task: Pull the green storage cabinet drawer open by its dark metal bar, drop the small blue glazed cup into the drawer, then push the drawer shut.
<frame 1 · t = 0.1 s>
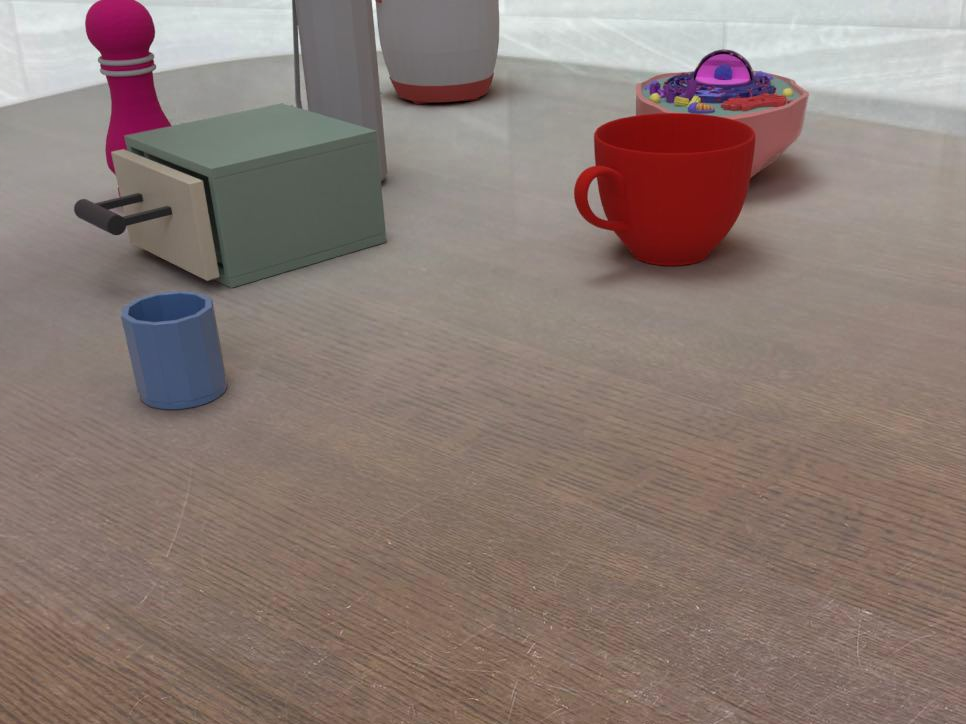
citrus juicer: (436, 97, 153), on the table
cup: (183, 390, 81), on the table
pepper mill: (154, 203, 118), on the table
cell model: (715, 177, 121), on the table
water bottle: (345, 183, 122), on the table
green storage cabinet: (266, 244, 106), on the table
drawer: (206, 203, 101), point 5 cm above the table, slide at 0.5 cm
ceramic cup: (653, 260, 101), on the table
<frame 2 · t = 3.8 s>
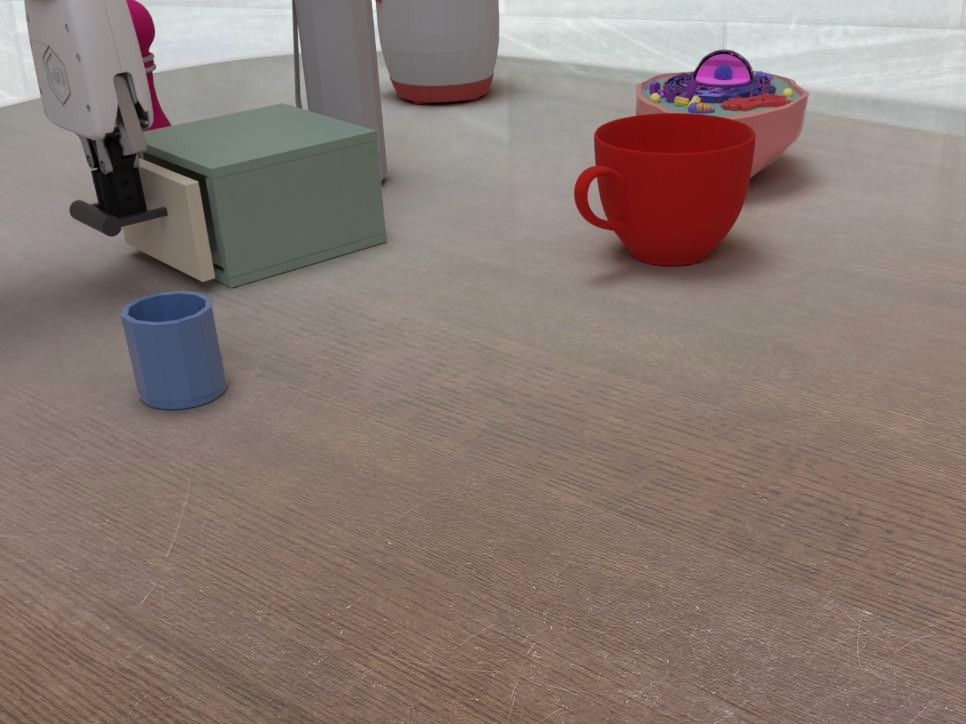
hand: (125, 217, 96), 5 cm above the table, tool pointing down, fingers closed
drawer: (202, 204, 101), point 5 cm above the table, slide at 0.9 cm
everything else where it was.
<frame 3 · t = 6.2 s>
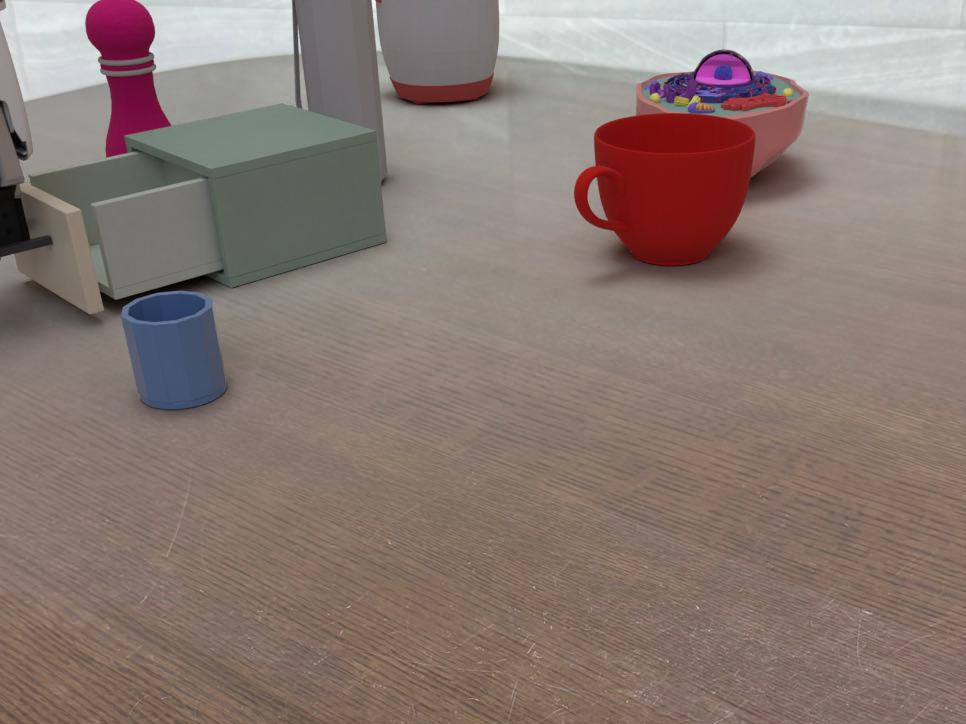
hand: (8, 250, 92), 5 cm above the table, tool pointing down, fingers closed
drawer: (94, 230, 95), point 5 cm above the table, slide at 10.4 cm
everything else where it was.
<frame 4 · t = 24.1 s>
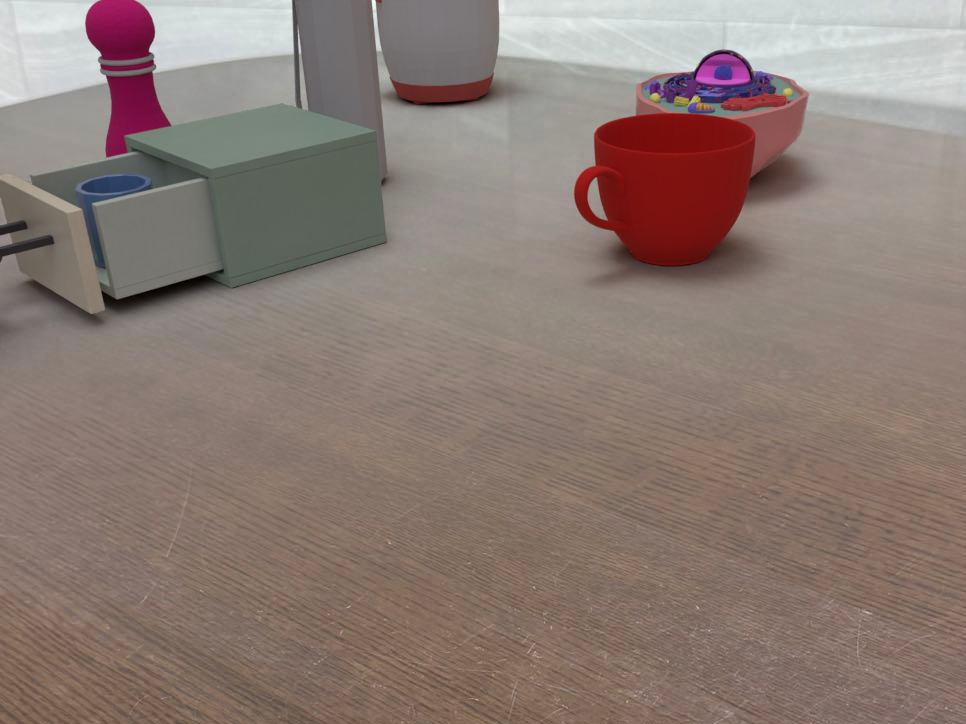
cup: (129, 257, 98), point 2 cm above the table, touching drawer
drawer: (95, 230, 95), point 5 cm above the table, slide at 10.3 cm, touching cup, gripper
everything else where it was.
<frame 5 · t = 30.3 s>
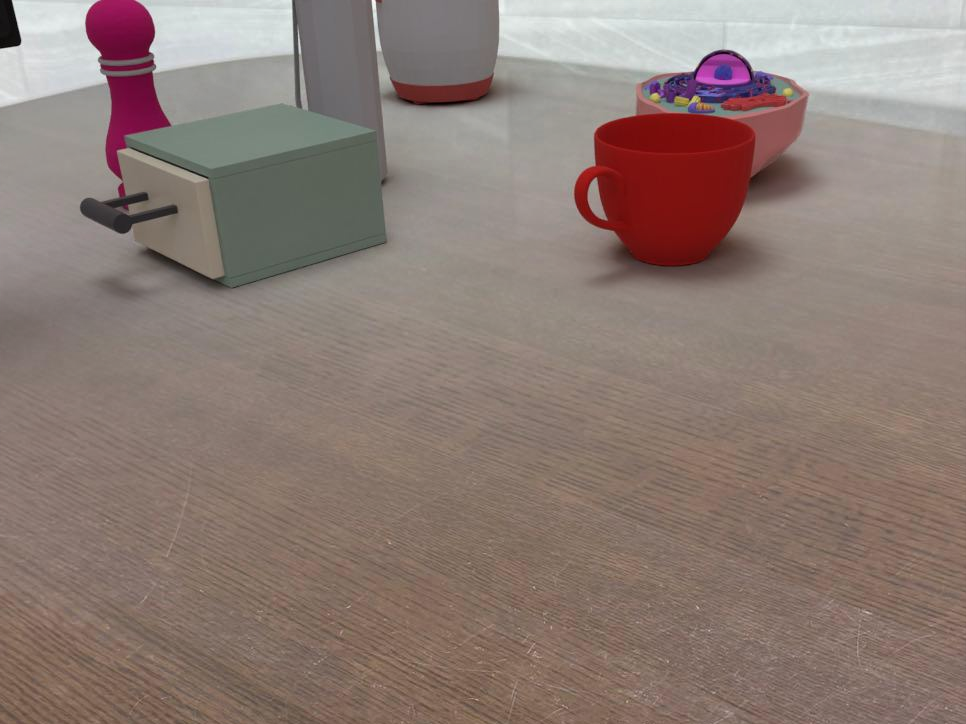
cup: (239, 228, 104), point 2 cm above the table, touching drawer
drawer: (211, 201, 101), point 5 cm above the table, slide at 0.0 cm, touching cup, green storage cabinet
everything else where it was.
at the end: drawer pulled out 11.0 cm at the most during the clip, back to where it started at the end; cup inside the target area in the green storage cabinet (2.3 cm from its centre), point 2.0 cm above the green storage cabinet's base; drawer slide at 0.0 cm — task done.
